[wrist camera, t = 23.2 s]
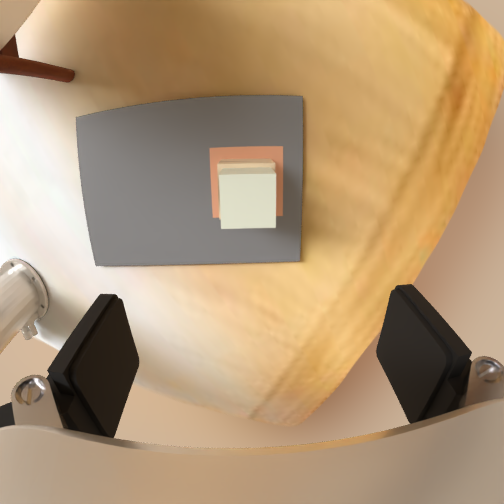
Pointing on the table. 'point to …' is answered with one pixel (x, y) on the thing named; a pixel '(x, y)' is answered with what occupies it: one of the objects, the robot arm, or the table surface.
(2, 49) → the plant pot with stand
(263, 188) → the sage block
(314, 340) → the table surface
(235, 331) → the table surface
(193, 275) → the table surface
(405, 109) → the table surface
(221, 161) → the maple block
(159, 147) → the board
